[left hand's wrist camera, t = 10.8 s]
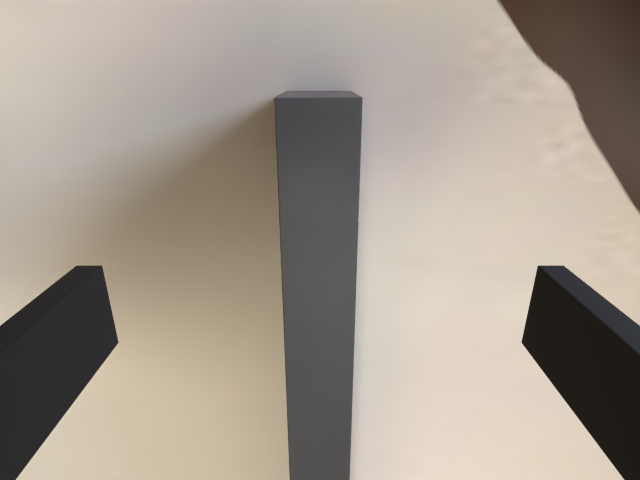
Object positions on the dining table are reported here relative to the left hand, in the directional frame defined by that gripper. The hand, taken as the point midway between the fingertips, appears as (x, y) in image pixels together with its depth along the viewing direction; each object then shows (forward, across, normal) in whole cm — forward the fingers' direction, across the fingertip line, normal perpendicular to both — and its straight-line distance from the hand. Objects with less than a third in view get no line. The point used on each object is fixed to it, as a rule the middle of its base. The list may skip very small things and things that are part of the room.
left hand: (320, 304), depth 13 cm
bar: (+22, 0, -30) cm, 37 cm away
